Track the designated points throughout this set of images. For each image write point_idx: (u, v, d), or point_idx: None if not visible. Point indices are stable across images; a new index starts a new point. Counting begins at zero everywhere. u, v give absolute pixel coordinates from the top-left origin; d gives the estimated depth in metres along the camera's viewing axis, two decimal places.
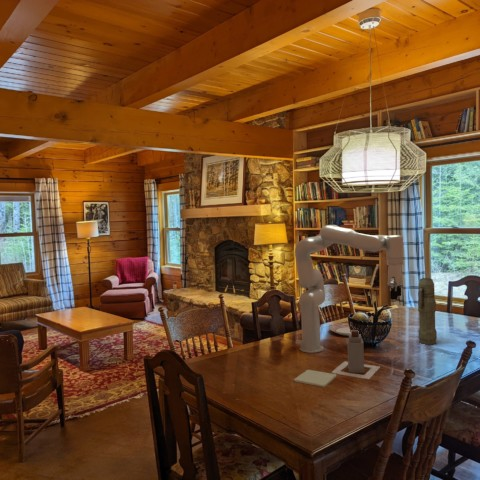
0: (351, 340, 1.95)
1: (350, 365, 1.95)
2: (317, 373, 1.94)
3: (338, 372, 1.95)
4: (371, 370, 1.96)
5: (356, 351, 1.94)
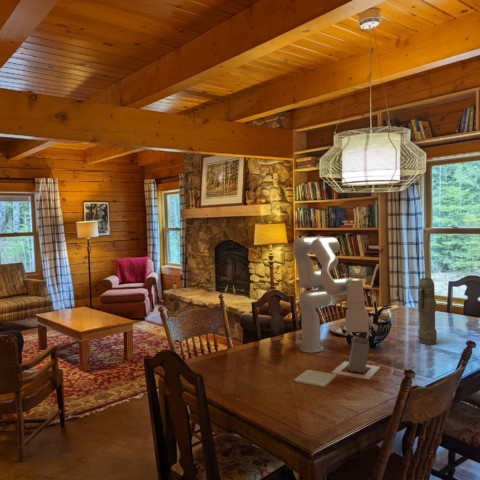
0: (358, 340, 1.93)
1: (352, 363, 1.95)
2: (317, 373, 1.94)
3: (338, 372, 1.95)
4: (371, 370, 1.96)
5: (361, 351, 1.93)
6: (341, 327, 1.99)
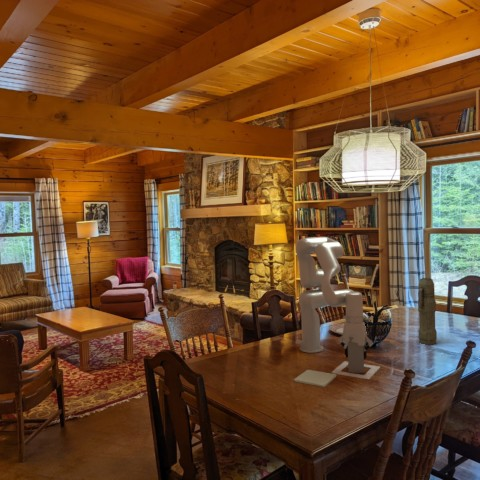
0: (351, 340, 1.95)
1: (350, 365, 1.95)
2: (317, 373, 1.94)
3: (338, 372, 1.95)
4: (371, 370, 1.96)
5: (356, 351, 1.94)
6: (340, 340, 2.01)
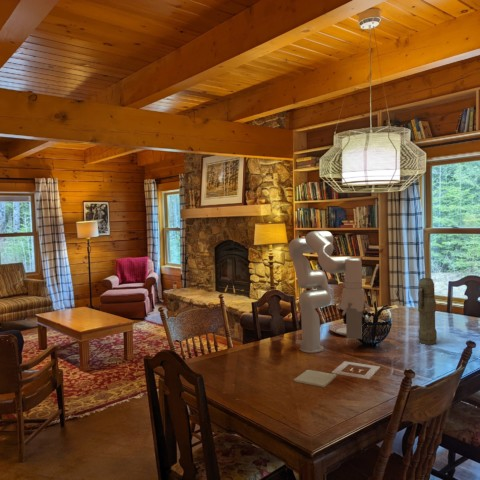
0: (349, 306, 1.95)
1: (348, 331, 1.95)
2: (317, 373, 1.94)
3: (338, 372, 1.95)
4: (371, 370, 1.96)
5: (354, 317, 1.94)
6: (338, 307, 2.00)
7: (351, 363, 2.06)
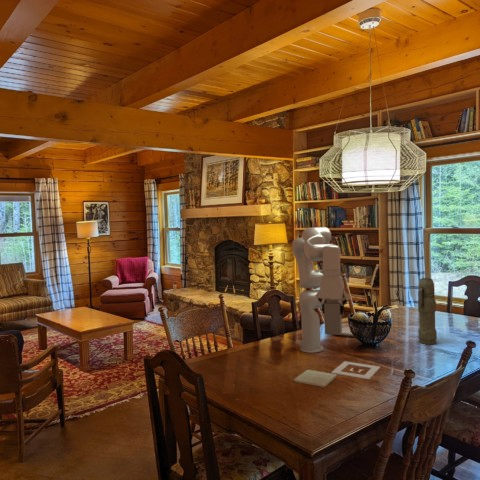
0: (328, 301, 1.90)
1: (326, 326, 1.90)
2: (317, 373, 1.94)
3: (338, 372, 1.95)
4: (371, 370, 1.96)
5: (333, 312, 1.89)
6: (317, 296, 1.95)
7: (351, 363, 2.06)
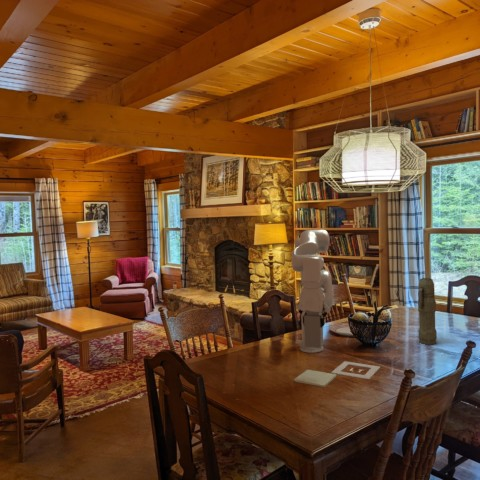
0: (308, 313, 1.87)
1: (306, 339, 1.87)
2: (317, 373, 1.94)
3: (338, 372, 1.95)
4: (371, 370, 1.96)
5: (313, 324, 1.85)
6: (297, 308, 1.92)
7: (351, 363, 2.06)
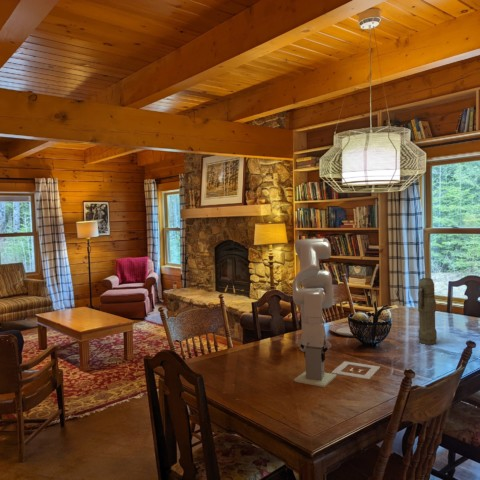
0: None
1: (307, 371, 1.87)
2: None
3: (338, 372, 1.95)
4: (371, 370, 1.96)
5: (314, 357, 1.86)
6: (299, 342, 1.92)
7: (351, 363, 2.06)
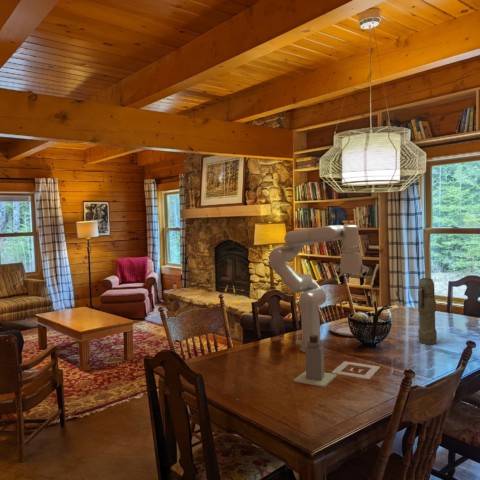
0: (309, 345, 1.87)
1: (307, 371, 1.87)
2: None
3: (338, 372, 1.95)
4: (371, 370, 1.96)
5: (314, 357, 1.86)
6: (336, 269, 2.19)
7: (351, 363, 2.06)
